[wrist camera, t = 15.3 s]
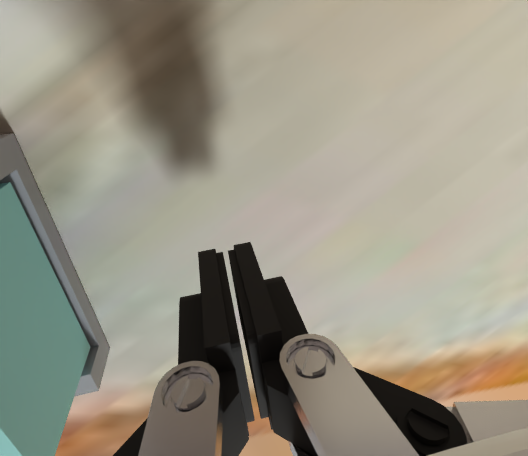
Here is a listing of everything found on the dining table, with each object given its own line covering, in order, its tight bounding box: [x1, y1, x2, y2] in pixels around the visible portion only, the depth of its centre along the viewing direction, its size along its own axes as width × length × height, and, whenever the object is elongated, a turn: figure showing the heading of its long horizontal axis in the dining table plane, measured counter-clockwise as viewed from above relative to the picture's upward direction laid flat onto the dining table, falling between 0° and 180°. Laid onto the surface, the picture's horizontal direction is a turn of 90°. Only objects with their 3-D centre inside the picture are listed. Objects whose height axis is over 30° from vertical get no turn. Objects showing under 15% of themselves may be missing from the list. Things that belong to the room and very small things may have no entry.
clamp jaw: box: [0, 182, 90, 456], centre depth 10 cm, size 2×7×5 cm, turn 5°
